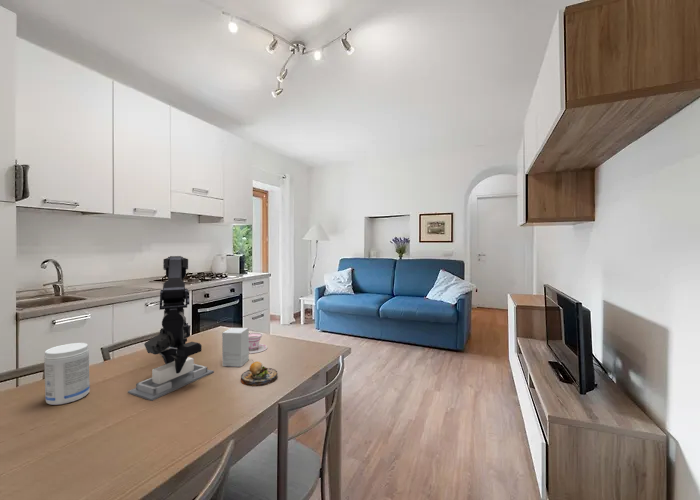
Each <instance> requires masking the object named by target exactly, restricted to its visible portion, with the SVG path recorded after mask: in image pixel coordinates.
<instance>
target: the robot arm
mask: <svg viewBox="0 0 700 500" xmlns="http://www.w3.org/2000/svg"><path fill="white" fill-rule="evenodd" d="M162 263H163V265H162V266H163V267H162V269H163V270H164V271H165V276H166V278H167V280H166V281H165V282H164V283H163V284H162V285H163V286H162V289H160V290H159V291H160V293H159V311H160V310H163V317H162V321H161V328H160V330H159V334H158V335H156V336H154V337H152V338H150V339H148V340H147V341H145V343H143V344H144V347H145V350H146V352H147V353H148V354H152V355H154V356H155V355H160V356H161V357H162V359H163V362H164V365H165V364H168V363H171V362H173V361H175V368H176V373H180V371H181V369H182V367H183V365H184V363H185V361H186V359H187V358H188V357H190V356H192V355H196V354H198V353H200V352H202V347H203V346H202V344H201V343H200V342H196V341H189V342H188V338H190V337H191V336H190V335H191V334H190V333H191V329H190V325H189V322H187V317H186V316H185V308H188V305H190V291H189V289H188V288H186V282H185V281H183V280H184V279H185V277H186V275H187V270H189V259H188V258H186V257H183V256H181V255H177V256H176V255H170V256H168V257H167V258H163V261H162Z"/></svg>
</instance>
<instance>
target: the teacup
mask: <svg viewBox="0 0 700 500" xmlns="http://www.w3.org/2000/svg"><path fill="white" fill-rule="evenodd" d="M263 336H264V333H263V332H250V333H249V354H257V353H261V352H264V351H266V350H267V349H268V345H266V344H263V343H260V340H261V338H262V337H263Z"/></svg>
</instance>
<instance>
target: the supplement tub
mask: <svg viewBox="0 0 700 500" xmlns="http://www.w3.org/2000/svg"><path fill="white" fill-rule="evenodd" d="M43 358H44V359H43V361H44V365H43V366H44V388H45V390H44V391H45V392H44V393H45V397H44V398H45V402H46V404H48V405H53V406H55V405H56V406H58V405H65V404H69V403H71V402H76V401H79V400H81V399H82V398H84V397H86V396H87V395H88V394H89V393H90V390H91V388H90V386H91V385H90V351H89V345H88V343H86V342H73V343H66V344H62V345H57V346H53V347H50V348H48V349H46V350H45V351H44V357H43Z"/></svg>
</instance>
